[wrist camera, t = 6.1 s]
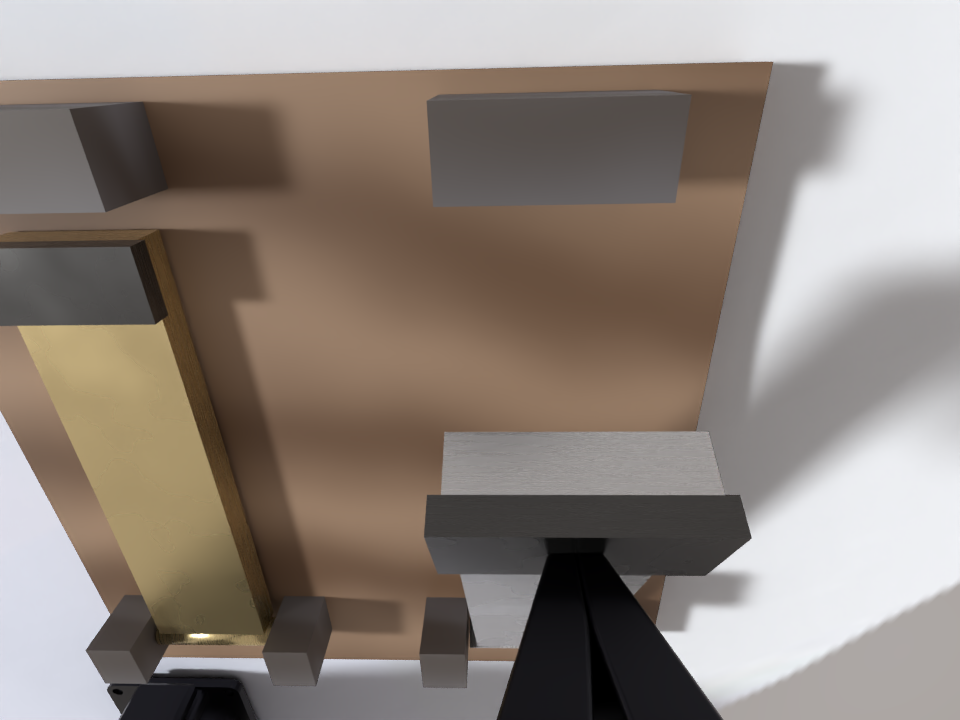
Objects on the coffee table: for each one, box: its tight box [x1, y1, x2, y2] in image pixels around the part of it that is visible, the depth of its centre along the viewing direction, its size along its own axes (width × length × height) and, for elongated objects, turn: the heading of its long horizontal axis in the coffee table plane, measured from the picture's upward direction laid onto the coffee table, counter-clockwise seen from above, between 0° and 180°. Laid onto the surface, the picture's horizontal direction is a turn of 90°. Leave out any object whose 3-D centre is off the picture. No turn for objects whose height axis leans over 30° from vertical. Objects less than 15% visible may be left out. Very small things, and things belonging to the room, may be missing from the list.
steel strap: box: [424, 431, 751, 648], centre depth 14 cm, size 16×5×2 cm, turn 0°
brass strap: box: [0, 230, 276, 646], centre depth 17 cm, size 16×5×2 cm, turn 1°
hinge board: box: [0, 62, 773, 688], centre depth 17 cm, size 22×22×4 cm
